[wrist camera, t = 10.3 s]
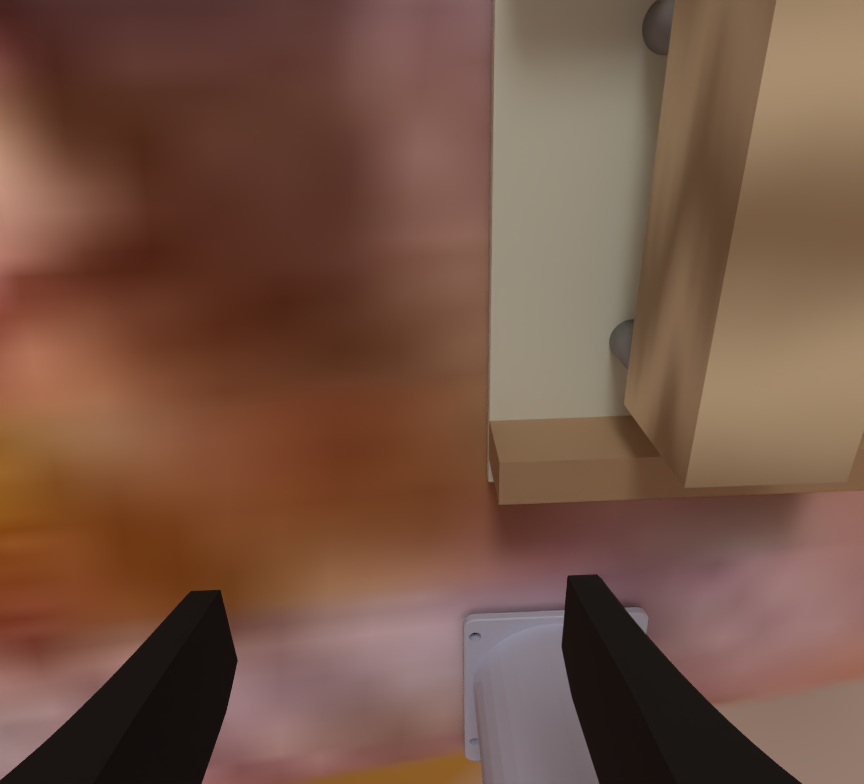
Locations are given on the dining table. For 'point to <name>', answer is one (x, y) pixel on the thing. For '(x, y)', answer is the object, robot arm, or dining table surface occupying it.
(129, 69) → the dining table surface
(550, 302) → the peg plate
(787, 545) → the dining table surface
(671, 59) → the tan wooden block
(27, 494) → the dining table surface
